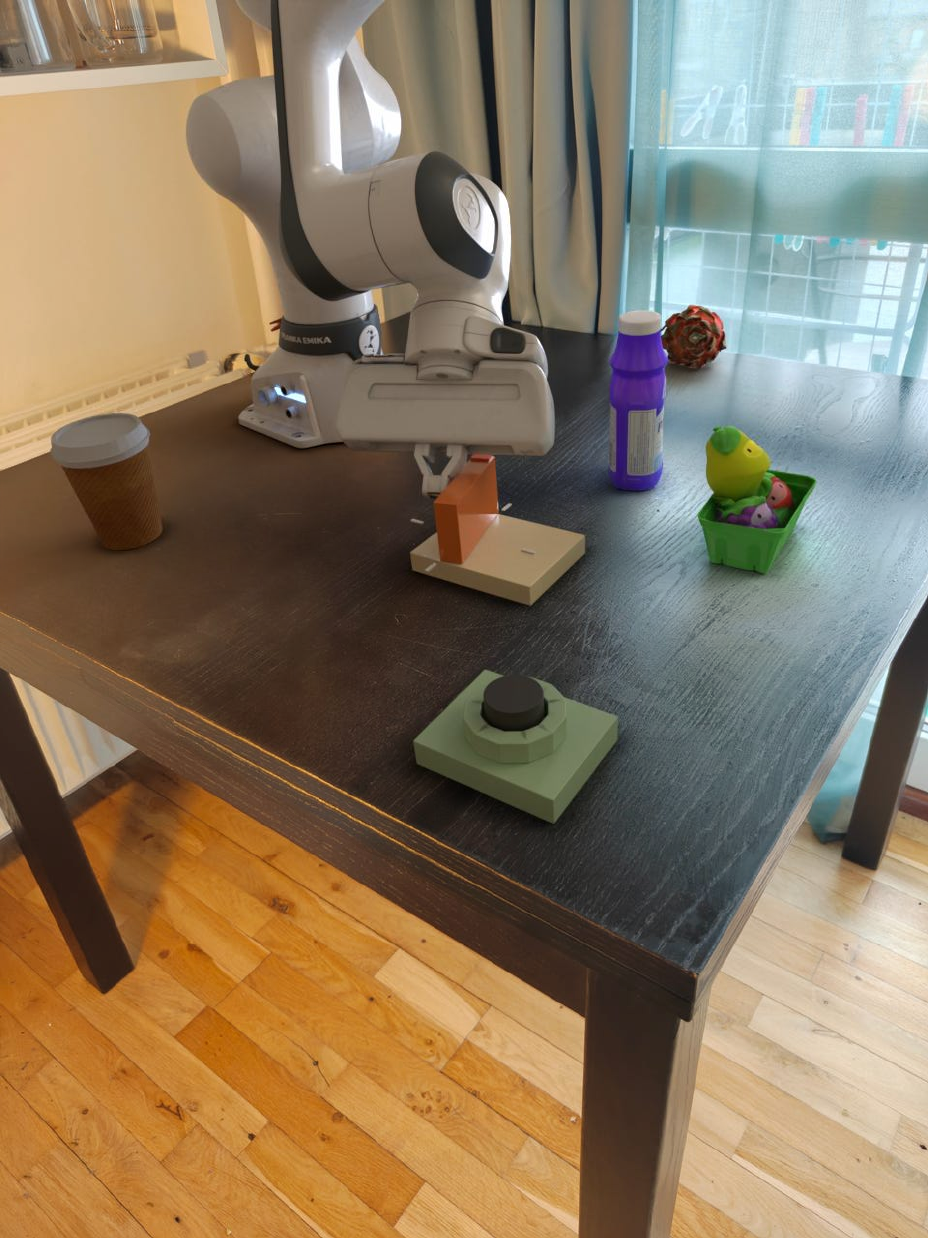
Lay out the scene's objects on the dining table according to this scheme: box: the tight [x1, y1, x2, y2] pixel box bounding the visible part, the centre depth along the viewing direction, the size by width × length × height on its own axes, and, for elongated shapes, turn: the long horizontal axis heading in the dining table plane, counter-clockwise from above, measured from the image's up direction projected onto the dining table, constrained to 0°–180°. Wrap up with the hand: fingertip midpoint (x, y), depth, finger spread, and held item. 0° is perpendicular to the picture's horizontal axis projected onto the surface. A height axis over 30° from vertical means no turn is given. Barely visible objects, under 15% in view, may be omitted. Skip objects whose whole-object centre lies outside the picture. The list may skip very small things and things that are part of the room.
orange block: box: [433, 454, 500, 564], centre depth 81 cm, size 10×2×6 cm, turn 159°
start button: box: [483, 674, 544, 732], centre depth 58 cm, size 4×4×2 cm
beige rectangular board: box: [409, 502, 586, 606], centre depth 83 cm, size 17×14×2 cm
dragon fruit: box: [661, 304, 727, 370], centre depth 120 cm, size 8×8×12 cm
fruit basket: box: [697, 425, 818, 575], centre depth 78 cm, size 11×9×11 cm
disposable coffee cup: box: [49, 412, 163, 551], centre depth 90 cm, size 10×10×12 cm
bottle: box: [608, 309, 669, 491], centre depth 89 cm, size 7×6×17 cm
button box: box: [412, 669, 619, 825], centre depth 60 cm, size 11×9×4 cm
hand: (436, 496), depth 79 cm, fingers closed
